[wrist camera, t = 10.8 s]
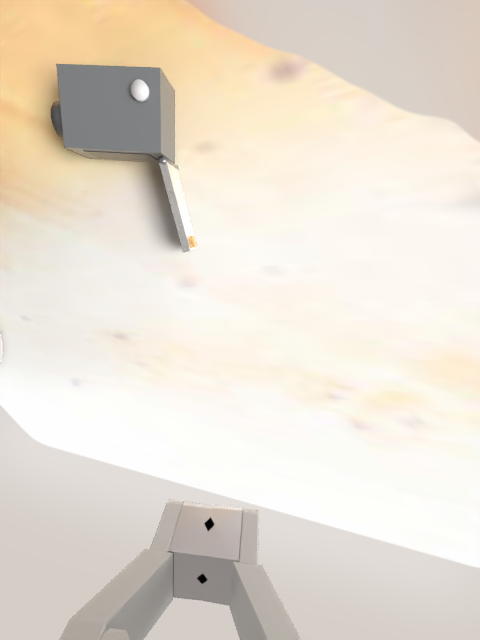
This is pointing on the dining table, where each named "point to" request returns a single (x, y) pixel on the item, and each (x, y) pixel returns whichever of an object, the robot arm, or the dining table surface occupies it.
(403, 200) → the dining table surface
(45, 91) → the dining table surface
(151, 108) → the camera body
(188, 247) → the side door
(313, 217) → the dining table surface
